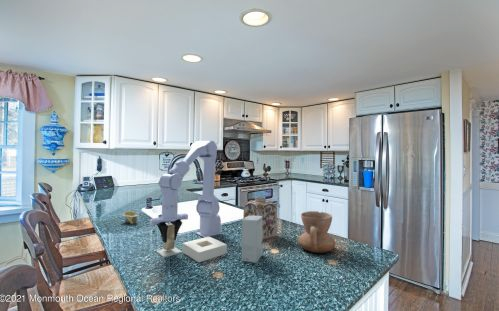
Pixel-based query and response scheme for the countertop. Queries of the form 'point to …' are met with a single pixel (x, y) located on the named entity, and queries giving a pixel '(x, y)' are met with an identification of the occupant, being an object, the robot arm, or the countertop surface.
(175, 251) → the mat
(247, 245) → the skincare box
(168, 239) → the wooden square post
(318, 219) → the ceramic jug
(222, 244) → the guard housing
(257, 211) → the decorative jar
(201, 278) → the countertop surface
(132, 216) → the gold pronged connector
